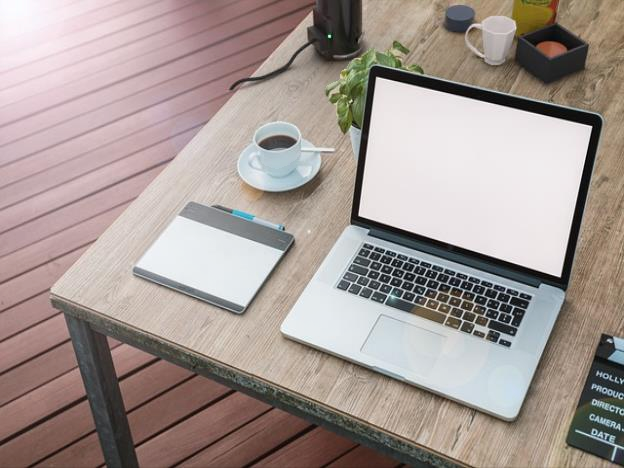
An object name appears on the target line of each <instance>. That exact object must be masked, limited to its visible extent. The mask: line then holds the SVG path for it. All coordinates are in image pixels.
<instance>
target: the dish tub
mask: <svg viewBox="0 0 624 468" xmlns="http://www.w3.org/2000/svg"><path fill="white" fill-rule="evenodd" d="M547 41H551V42H557V43H560V44H562V45H564V46H565V47H566V49H567V51H566V52H564V53H561V54H559V55H556V56H554V57H551V58H550V57H549V56H548V55H546V54H545V53H543V52H542V51H541V50H539V49H538V48H536V46H537V45H538V44H539V43H542V42H547ZM589 49H590V43H589V42H586V41H585V40H583V39H582V38H581V37H579V36H577V35H576V34H574V33H573V32H572V31H570V30H569V29H567V28H565V26H563V25H561V23H558V22H557V21H555V23H553V24H550V25H547V26H545V27H542V28H539V29H537V30H534V31H531V32H529V33H526V34H524V35H521V36H518V39H517V38H516V45H515V52H514V62H515V63H517V64H518V65H519V66H521V67H522V68H523V69H525V70H526V71H528V72H529V73H530V74H531V75H533V76H534V77H535V78H537V79H538V80H540V81H541V82H542V83H543V84H544V85H548V84H550V83H552V82H554V81H558V80H559V79H562V78H564V77H568V76H569V75H573V74H575V73H578V72H579V71H582V70H584V69H585V66H586V62H587V57H588V54H589V53H588V52H589Z"/></svg>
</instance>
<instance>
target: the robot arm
mask: <svg viewBox="0 0 624 468" xmlns="http://www.w3.org/2000/svg"><path fill="white" fill-rule="evenodd" d="M315 3H316V6H313V7H312V22H313V23H312V24H313V25H310V26H307V27H306V34H307V35H306V36H307V42H306V43H304V44H303V45H301V46H300V47H299V48H298V49H297V50H296V51H295V52H294V53H293V55H291V57H290V59H289V60H288V62H287V63H286V64H285V65H283V66H282V67H280V68H277V69H275V70H274V71H271V72H269V73H266V74H263V75H260V76H254V77H253V76H252V77H245V78H241V79H238V80H236V81H235V82H233V83H232V85H231V86H230V87H229V88H228V91H234V89H235V88H236V87H237V86H238V85H240V84H243V83H246V82H247V83H248V82H257V81H262V80H266V79H268V78H270V77H272V76H275V75H277V74H279V73H281V72H284V71H286V70H287V69H288V68H289V67H291V65H292V64H293V63H294V61H295V60H296V58H297V57H298V56H299V54H300V53H301V52H303V51H304V50H306V49H307V48H309V46H311V45H312V47H314V49H315V50H316V51H317V52H318V53H319V54H320V55H321V56H323V57H324V58H325V59H326V60H327V61H328V62H332V61H334V60H335V61H342V60H343V61H344V60H349V59H352V58H355V57H357V56H359V54H361V53H362V51H363V49H364V40H363V39H364V36H365V34H366V33H365V31H366V30H365V29H364V30H363V0H315Z"/></svg>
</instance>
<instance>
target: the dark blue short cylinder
mask: <svg viewBox="0 0 624 468" xmlns="http://www.w3.org/2000/svg"><path fill="white" fill-rule="evenodd" d="M444 12H445V13H444V27H445V28H446V29H448V30H450V31H452V32H456V33H462V32H467V30H468V28H469V27H470V26H471V25H472V24H475V16H476V12H475V9H474V8H473V7H471V6H469V5H465V4H454V5H451V6H449V7H447V8H446V9H445V11H444Z"/></svg>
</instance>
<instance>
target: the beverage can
mask: <svg viewBox="0 0 624 468" xmlns="http://www.w3.org/2000/svg"><path fill="white" fill-rule="evenodd" d="M559 3H560V0H513V4H512V12H511V18H510V19H512V20H514V21H515V23H516V32H515V35H514V38H515V39H516V40H517V39H518V36H521V35H524V34H526V33H529V32H531V31H534V30H537V29H539V28H542V27H545V26H547V25H550V24H553V23H555V22H557V21H556V20H557V15H558V10H559V9H558V8H559Z"/></svg>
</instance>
